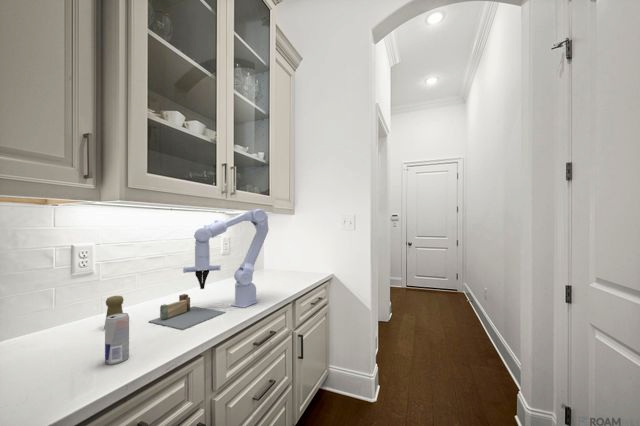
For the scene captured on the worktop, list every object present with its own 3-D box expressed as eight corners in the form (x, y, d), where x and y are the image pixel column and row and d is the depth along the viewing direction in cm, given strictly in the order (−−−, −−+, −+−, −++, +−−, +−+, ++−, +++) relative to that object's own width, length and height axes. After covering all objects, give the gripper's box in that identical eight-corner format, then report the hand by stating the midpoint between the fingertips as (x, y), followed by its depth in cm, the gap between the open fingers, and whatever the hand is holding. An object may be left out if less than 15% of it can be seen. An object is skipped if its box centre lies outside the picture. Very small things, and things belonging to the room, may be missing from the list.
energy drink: (113, 355, 79) (113, 313, 79) (133, 354, 79) (133, 312, 80) (99, 365, 73) (100, 319, 74) (121, 364, 74) (121, 318, 74)
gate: (191, 310, 117) (191, 297, 117) (163, 319, 105) (163, 305, 106) (188, 309, 117) (188, 297, 118) (160, 318, 106) (160, 305, 106)
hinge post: (184, 310, 119) (184, 294, 119) (188, 311, 118) (188, 294, 118) (179, 312, 117) (179, 295, 117) (183, 313, 116) (183, 296, 116)
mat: (193, 307, 123) (193, 306, 123) (225, 312, 115) (225, 311, 115) (148, 322, 105) (148, 321, 105) (182, 330, 97) (182, 329, 97)
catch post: (163, 318, 110) (163, 305, 110) (166, 318, 109) (166, 305, 109) (160, 319, 108) (160, 306, 108) (162, 320, 107) (162, 307, 108)
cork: (113, 330, 98) (114, 299, 98) (99, 329, 99) (99, 298, 99) (128, 324, 104) (129, 294, 104) (115, 323, 105) (115, 294, 105)
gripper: (220, 254, 125) (220, 285, 124) (184, 256, 120) (184, 288, 120) (220, 256, 118) (220, 288, 118) (182, 258, 113) (182, 291, 113)
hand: (202, 288), depth 118 cm, fingers closed
